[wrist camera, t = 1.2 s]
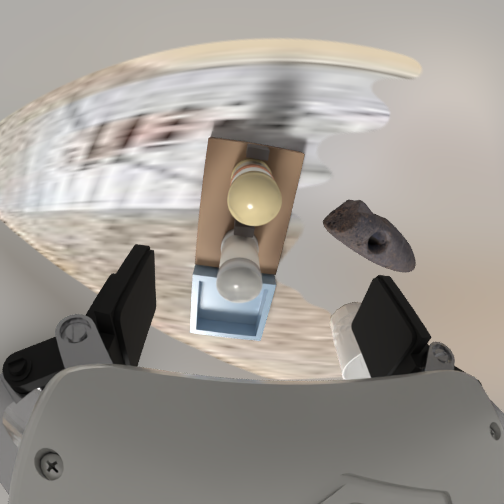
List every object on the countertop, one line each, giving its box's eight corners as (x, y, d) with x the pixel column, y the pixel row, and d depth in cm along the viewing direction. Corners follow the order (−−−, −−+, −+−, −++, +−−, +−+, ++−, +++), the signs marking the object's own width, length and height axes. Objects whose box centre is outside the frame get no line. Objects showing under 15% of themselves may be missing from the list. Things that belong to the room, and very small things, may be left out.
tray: (273, 271, 35) (276, 285, 33) (259, 326, 40) (260, 340, 37) (196, 261, 34) (192, 274, 31) (192, 318, 39) (190, 332, 36)
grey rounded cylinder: (261, 230, 31) (266, 268, 24) (254, 262, 33) (257, 305, 26) (224, 225, 30) (218, 262, 23) (219, 257, 32) (214, 300, 25)
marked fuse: (275, 161, 27) (286, 179, 20) (267, 199, 29) (275, 229, 22) (234, 154, 26) (231, 170, 19) (228, 193, 28) (224, 221, 21)
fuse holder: (301, 152, 28) (311, 158, 24) (274, 268, 35) (278, 289, 31) (210, 137, 27) (204, 141, 23) (196, 258, 34) (191, 278, 30)
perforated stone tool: (411, 240, 34) (437, 265, 28) (389, 267, 36) (411, 296, 30) (338, 180, 30) (361, 199, 24) (312, 215, 32) (329, 242, 26)
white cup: (379, 300, 39) (405, 346, 30) (359, 335, 42) (378, 381, 34) (336, 296, 38) (358, 347, 29) (319, 334, 41) (333, 383, 33)
